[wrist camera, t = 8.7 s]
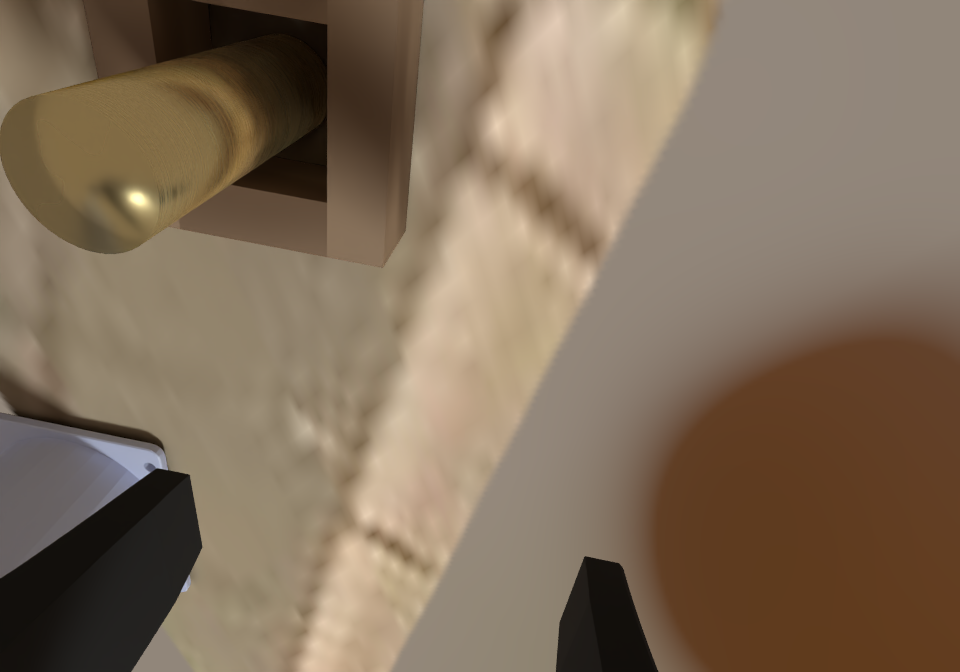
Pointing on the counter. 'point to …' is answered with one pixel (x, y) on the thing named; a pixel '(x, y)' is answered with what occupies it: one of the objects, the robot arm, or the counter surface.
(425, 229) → the counter surface
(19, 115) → the brass pin
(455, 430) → the counter surface
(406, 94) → the socket block
